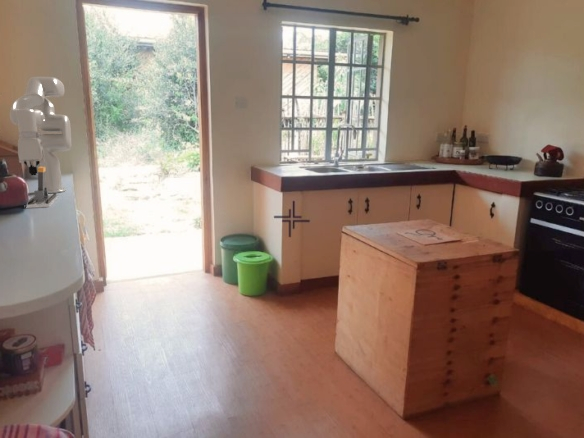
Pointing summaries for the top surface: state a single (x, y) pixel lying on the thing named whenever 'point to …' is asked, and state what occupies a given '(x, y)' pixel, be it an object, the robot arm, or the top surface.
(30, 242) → the top surface
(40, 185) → the lever
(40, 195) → the panel
